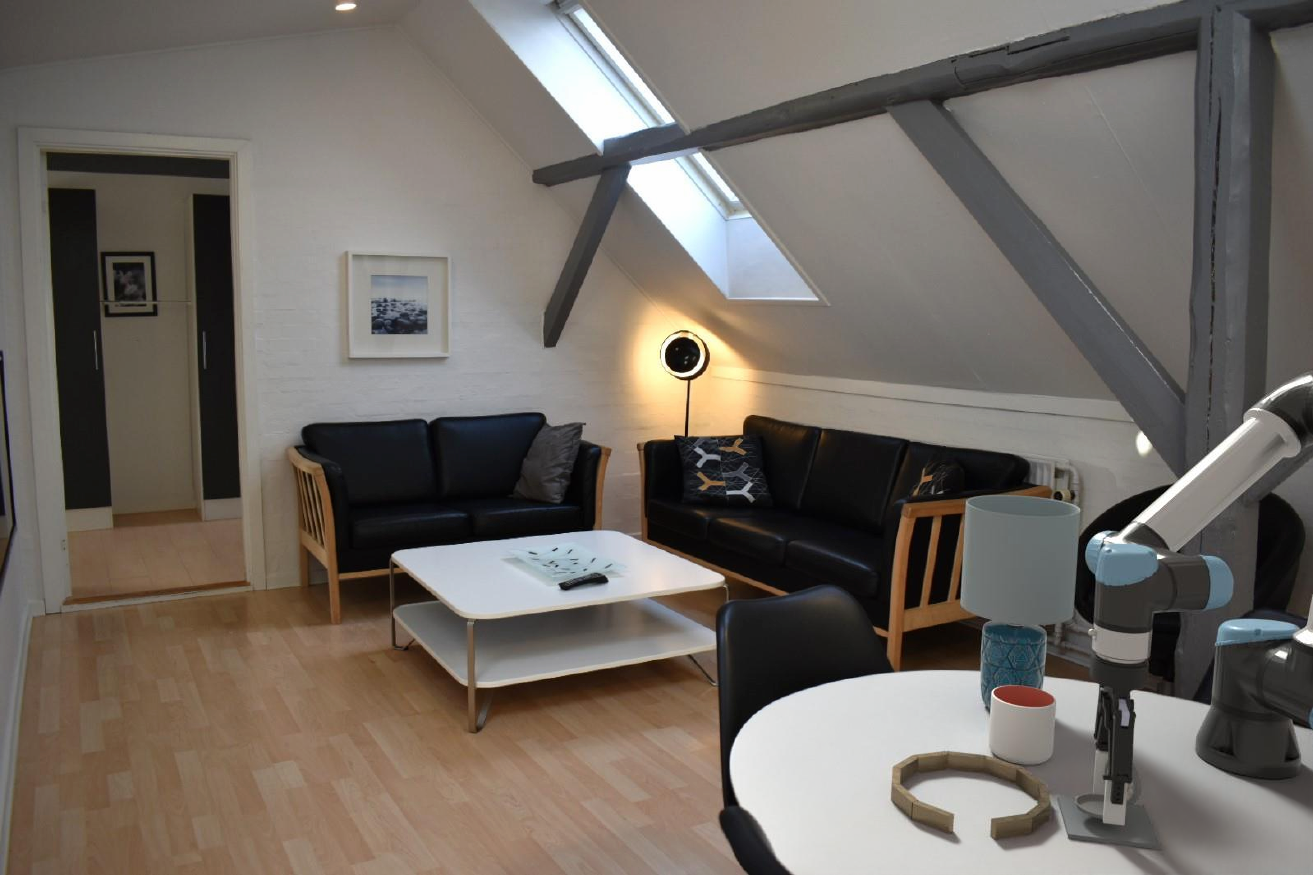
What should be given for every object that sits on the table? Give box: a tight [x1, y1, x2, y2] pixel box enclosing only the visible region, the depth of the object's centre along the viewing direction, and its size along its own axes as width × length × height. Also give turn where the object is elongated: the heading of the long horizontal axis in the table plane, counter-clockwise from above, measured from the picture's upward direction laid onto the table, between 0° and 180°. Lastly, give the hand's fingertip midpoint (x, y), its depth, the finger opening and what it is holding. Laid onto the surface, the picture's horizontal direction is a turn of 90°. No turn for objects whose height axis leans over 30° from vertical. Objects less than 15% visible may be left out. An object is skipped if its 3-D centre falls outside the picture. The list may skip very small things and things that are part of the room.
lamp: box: [960, 494, 1081, 710], centre depth 191 cm, size 19×19×38 cm
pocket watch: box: [1075, 761, 1143, 819], centre depth 151 cm, size 8×8×10 cm
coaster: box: [1056, 794, 1163, 851], centre depth 152 cm, size 12×12×1 cm
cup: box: [988, 685, 1057, 766], centre depth 174 cm, size 10×10×10 cm
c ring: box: [890, 750, 1052, 840], centre depth 158 cm, size 22×22×2 cm
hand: (1108, 808), depth 152 cm, fingers closed on pocket watch, 8 cm apart
